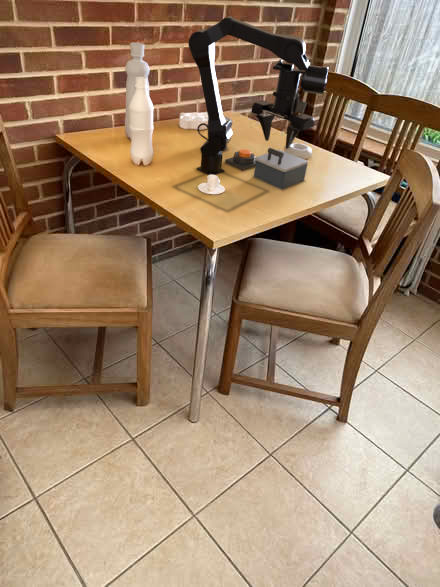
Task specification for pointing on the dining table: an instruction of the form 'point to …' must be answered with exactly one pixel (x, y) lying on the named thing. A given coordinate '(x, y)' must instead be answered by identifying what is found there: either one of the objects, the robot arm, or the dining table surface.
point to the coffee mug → (207, 127)
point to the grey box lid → (281, 160)
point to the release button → (245, 153)
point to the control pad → (241, 161)
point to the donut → (299, 150)
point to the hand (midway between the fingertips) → (277, 144)
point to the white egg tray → (193, 120)
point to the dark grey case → (279, 175)
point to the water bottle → (141, 124)
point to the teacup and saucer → (212, 185)
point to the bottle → (134, 78)
